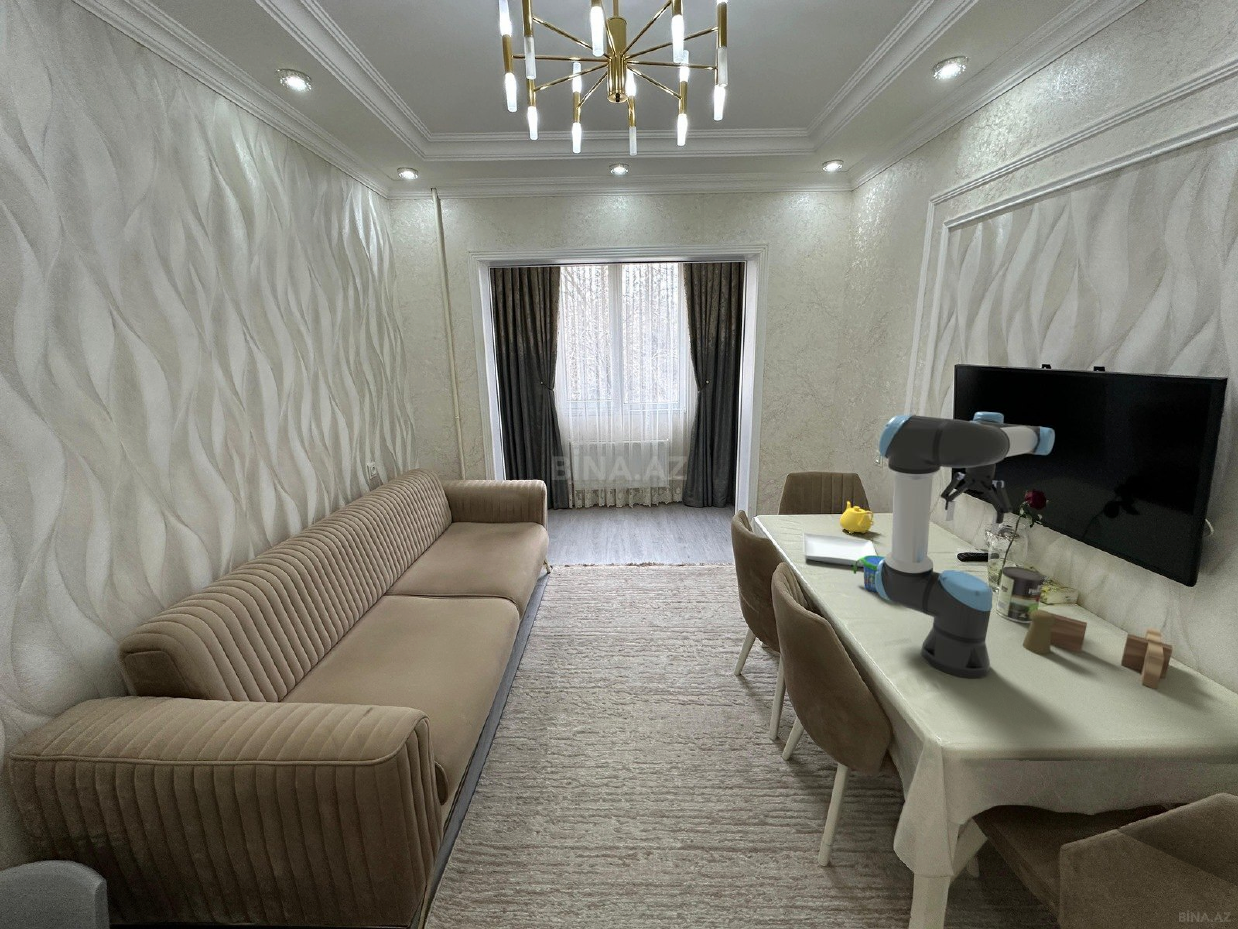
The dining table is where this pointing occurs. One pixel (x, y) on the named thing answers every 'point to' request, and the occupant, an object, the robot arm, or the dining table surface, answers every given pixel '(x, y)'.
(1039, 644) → the cork
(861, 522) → the teapot
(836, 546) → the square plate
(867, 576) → the snack cup
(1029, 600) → the coffee can
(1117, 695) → the dining table surface
